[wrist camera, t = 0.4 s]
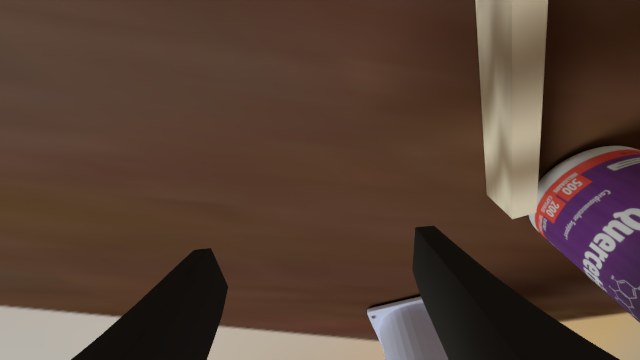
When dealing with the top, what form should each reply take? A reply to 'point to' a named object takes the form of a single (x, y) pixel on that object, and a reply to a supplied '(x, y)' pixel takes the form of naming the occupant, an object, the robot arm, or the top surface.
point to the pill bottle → (596, 218)
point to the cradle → (512, 98)
